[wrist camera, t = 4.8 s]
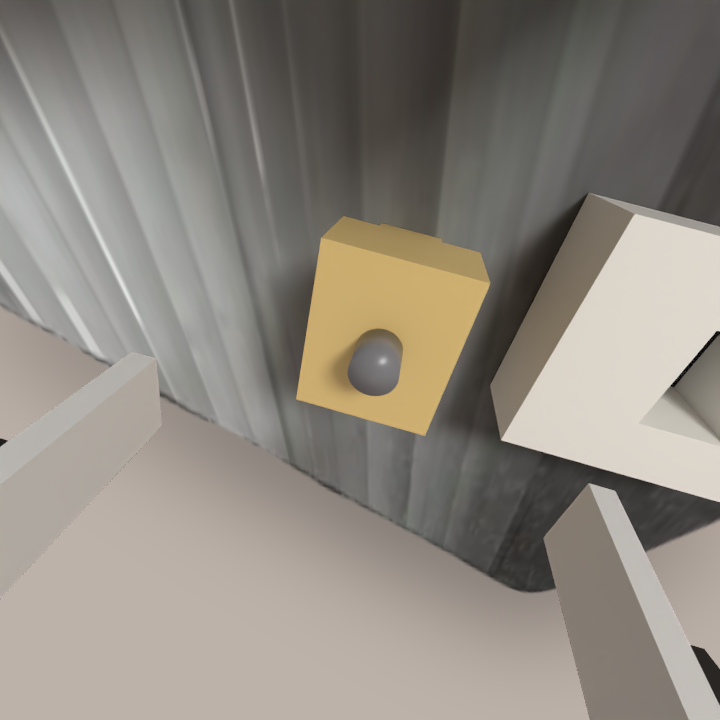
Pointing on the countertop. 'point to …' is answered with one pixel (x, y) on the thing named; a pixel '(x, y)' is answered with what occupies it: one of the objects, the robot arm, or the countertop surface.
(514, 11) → the countertop surface
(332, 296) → the plug
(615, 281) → the socket
